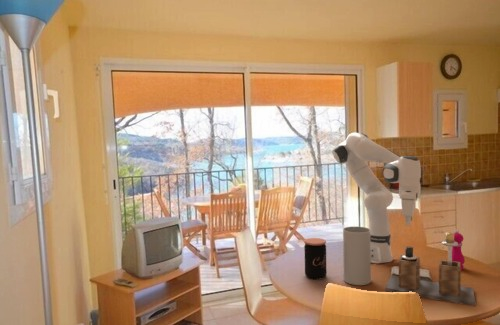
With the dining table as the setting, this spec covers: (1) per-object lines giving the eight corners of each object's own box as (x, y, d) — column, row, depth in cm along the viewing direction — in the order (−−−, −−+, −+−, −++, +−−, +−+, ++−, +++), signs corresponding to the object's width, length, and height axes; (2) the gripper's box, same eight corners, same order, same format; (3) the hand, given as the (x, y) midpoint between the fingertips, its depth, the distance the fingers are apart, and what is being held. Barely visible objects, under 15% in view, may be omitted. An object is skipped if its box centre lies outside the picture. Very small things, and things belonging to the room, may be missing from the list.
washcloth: (391, 270, 190) (391, 264, 190) (429, 274, 184) (429, 268, 183) (390, 278, 179) (390, 272, 179) (431, 282, 173) (431, 276, 172)
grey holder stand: (385, 291, 163) (385, 261, 162) (390, 279, 177) (390, 251, 176) (475, 305, 147) (475, 272, 146) (473, 291, 161) (473, 260, 160)
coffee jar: (313, 281, 177) (313, 244, 176) (300, 274, 186) (300, 239, 185) (331, 277, 182) (330, 241, 181) (317, 270, 191) (317, 236, 190)
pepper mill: (466, 271, 185) (467, 231, 184) (451, 270, 186) (451, 231, 185) (461, 266, 192) (461, 228, 191) (446, 265, 193) (446, 228, 192)
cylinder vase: (367, 287, 168) (366, 234, 166) (340, 283, 174) (339, 231, 173) (373, 278, 178) (373, 228, 177) (348, 274, 185) (347, 225, 183)
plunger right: (441, 269, 156) (441, 234, 156) (441, 265, 162) (442, 230, 161) (457, 271, 153) (457, 235, 153) (457, 267, 159) (457, 232, 158)
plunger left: (401, 282, 165) (401, 248, 164) (402, 277, 170) (402, 245, 169) (416, 284, 162) (415, 250, 161) (417, 279, 167) (417, 246, 166)
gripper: (404, 188, 174) (404, 217, 175) (399, 195, 156) (399, 227, 157) (419, 189, 171) (418, 218, 172) (415, 196, 153) (415, 228, 154)
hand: (409, 222), depth 164 cm, fingers open, 8 cm apart
